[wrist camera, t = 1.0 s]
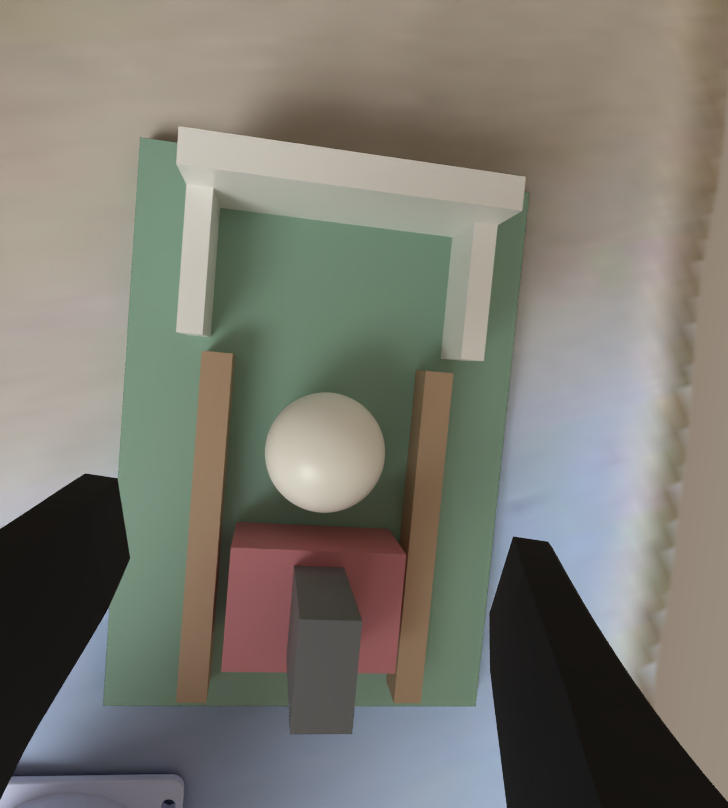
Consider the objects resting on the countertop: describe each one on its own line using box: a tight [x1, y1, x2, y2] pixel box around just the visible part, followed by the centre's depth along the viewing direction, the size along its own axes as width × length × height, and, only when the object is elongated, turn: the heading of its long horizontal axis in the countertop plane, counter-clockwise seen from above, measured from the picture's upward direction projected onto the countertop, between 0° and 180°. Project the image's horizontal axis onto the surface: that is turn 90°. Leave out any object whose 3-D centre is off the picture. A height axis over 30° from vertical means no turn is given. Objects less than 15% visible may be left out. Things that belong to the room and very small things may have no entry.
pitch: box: [103, 137, 529, 706], centre depth 22 cm, size 20×14×2 cm
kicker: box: [221, 522, 406, 734], centre depth 19 cm, size 4×6×7 cm
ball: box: [265, 392, 385, 513], centre depth 20 cm, size 4×4×4 cm
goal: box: [176, 126, 526, 361], centre depth 20 cm, size 6×10×4 cm, turn 85°
